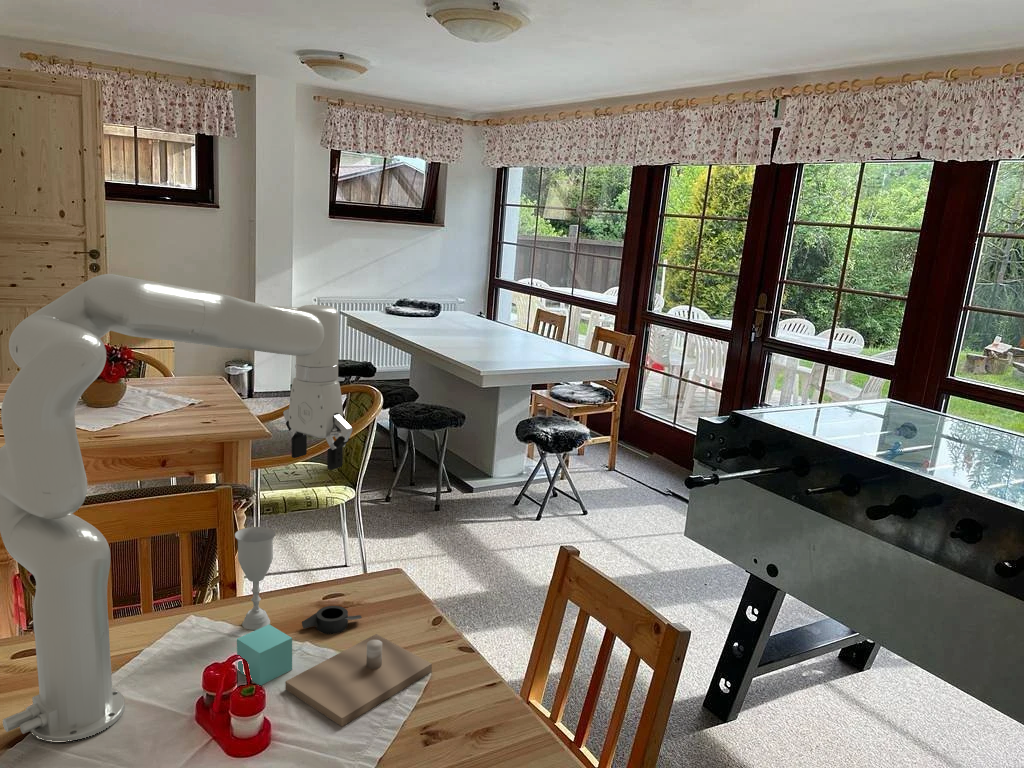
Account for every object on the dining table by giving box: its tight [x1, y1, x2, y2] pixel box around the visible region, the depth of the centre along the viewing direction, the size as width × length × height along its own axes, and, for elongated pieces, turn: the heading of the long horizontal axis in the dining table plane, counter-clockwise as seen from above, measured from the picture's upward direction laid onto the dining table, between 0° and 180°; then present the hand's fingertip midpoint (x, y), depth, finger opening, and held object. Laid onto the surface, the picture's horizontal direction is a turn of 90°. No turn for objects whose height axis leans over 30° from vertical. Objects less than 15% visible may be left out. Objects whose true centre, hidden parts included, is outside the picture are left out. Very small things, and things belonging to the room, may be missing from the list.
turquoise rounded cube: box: [236, 623, 293, 686], centre depth 132 cm, size 6×6×6 cm
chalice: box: [234, 526, 276, 631], centre depth 145 cm, size 7×7×18 cm
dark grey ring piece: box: [301, 605, 362, 635], centre depth 147 cm, size 8×10×3 cm
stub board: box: [284, 633, 433, 727], centre depth 131 cm, size 20×14×6 cm
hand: (316, 462), depth 146 cm, fingers open, 9 cm apart
